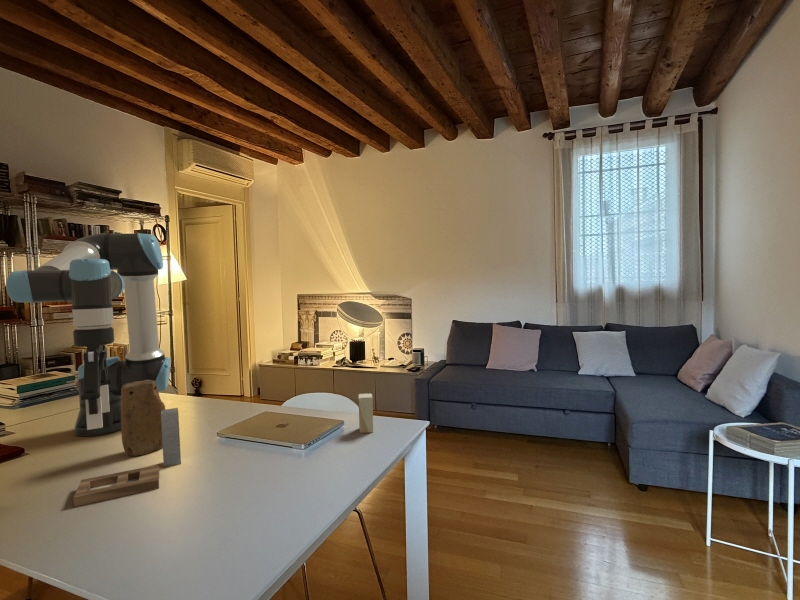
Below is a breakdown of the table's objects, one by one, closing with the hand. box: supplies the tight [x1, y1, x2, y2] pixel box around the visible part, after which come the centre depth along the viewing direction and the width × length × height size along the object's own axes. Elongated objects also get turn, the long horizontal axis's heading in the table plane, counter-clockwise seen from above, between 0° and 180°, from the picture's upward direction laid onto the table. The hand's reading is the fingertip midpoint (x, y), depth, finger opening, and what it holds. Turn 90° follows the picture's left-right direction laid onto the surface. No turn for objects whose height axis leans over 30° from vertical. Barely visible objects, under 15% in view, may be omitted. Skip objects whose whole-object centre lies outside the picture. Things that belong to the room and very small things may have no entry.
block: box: [120, 380, 166, 457], centre depth 126 cm, size 11×8×20 cm
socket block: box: [73, 464, 160, 508], centre depth 103 cm, size 10×16×2 cm, turn 118°
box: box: [358, 393, 374, 434], centre depth 137 cm, size 5×4×11 cm
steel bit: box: [161, 407, 182, 468], centre depth 116 cm, size 4×4×14 cm
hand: (99, 420), depth 100 cm, fingers open, 13 cm apart
